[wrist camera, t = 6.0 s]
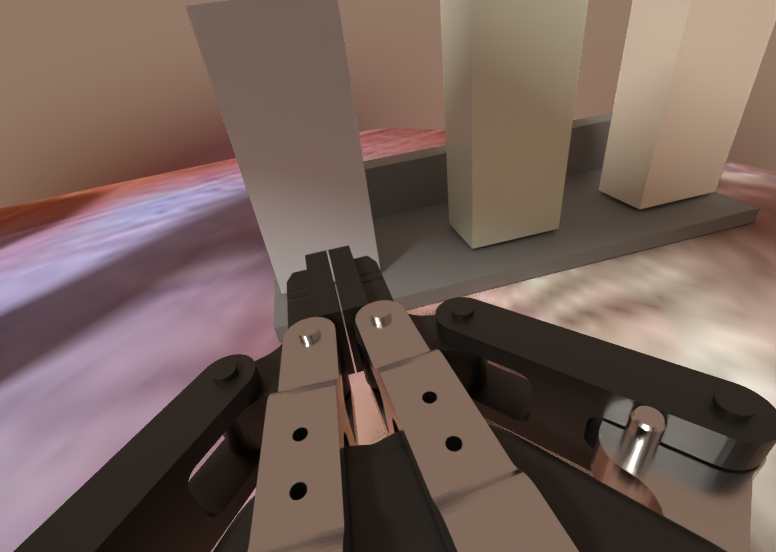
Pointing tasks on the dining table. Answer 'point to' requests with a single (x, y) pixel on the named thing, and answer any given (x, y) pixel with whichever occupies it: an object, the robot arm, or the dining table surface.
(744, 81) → the tile one
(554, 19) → the tile two
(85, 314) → the dining table surface
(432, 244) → the tile stand
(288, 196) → the tile three
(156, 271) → the dining table surface
